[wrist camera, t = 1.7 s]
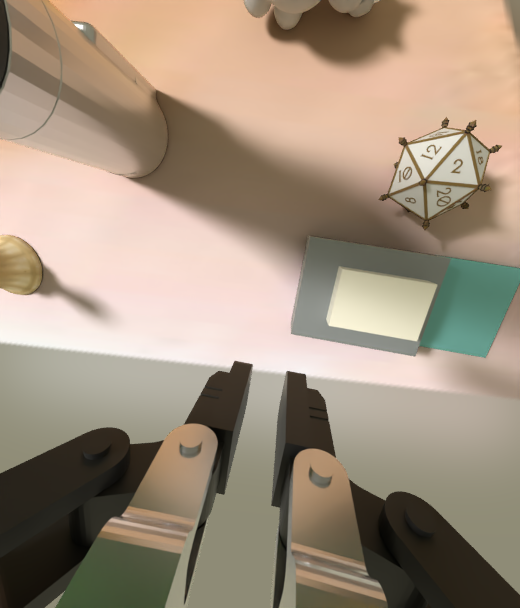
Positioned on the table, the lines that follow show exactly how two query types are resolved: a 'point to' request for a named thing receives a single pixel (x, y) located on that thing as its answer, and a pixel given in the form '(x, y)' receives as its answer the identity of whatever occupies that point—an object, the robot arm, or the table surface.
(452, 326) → the teal mat
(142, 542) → the robot arm
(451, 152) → the game die
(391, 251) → the gray board
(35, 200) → the table surface
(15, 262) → the hand bell
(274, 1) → the round bodied animal figurine
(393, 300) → the ivory tile
